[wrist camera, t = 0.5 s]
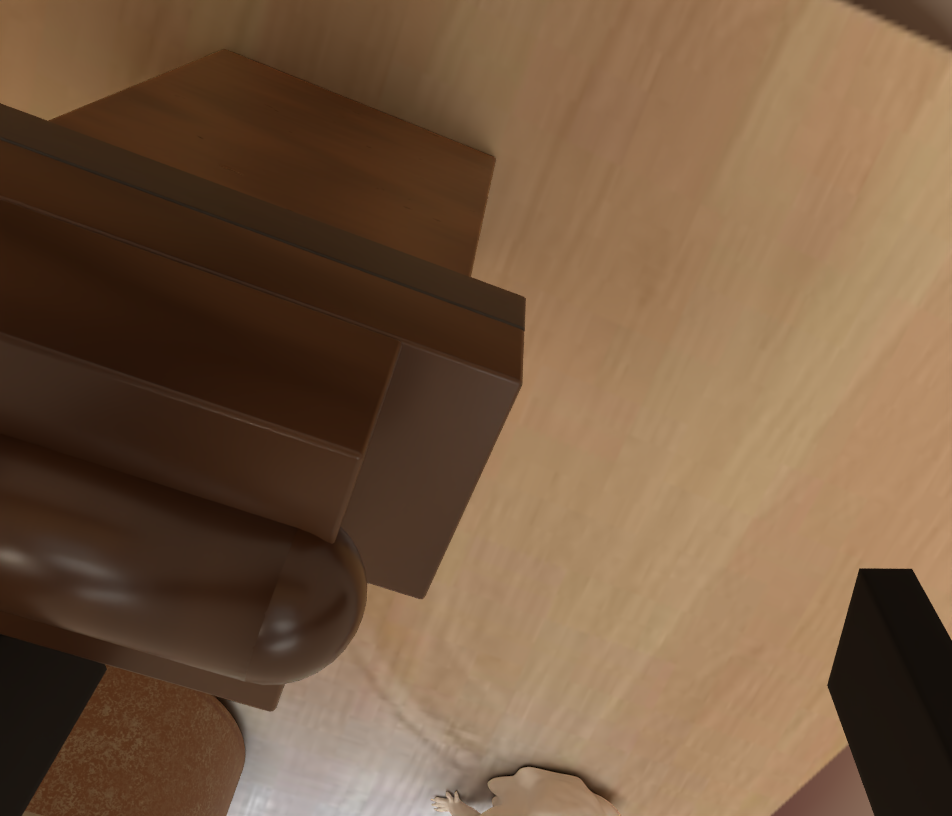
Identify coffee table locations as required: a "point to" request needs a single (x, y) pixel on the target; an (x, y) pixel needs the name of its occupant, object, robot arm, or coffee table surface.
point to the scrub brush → (223, 417)
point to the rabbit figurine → (534, 797)
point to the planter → (144, 754)
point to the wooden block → (304, 153)
